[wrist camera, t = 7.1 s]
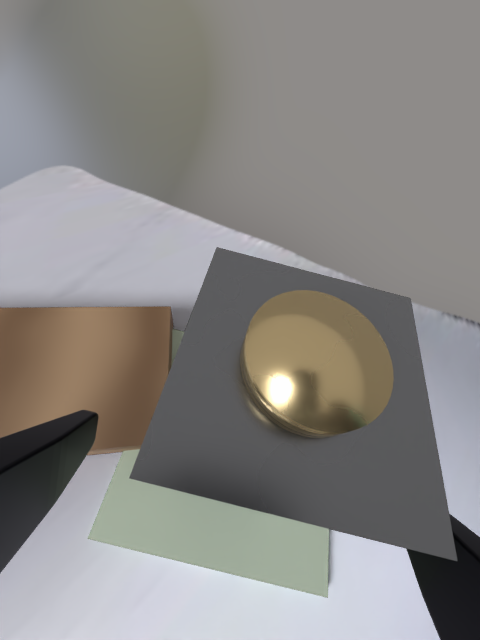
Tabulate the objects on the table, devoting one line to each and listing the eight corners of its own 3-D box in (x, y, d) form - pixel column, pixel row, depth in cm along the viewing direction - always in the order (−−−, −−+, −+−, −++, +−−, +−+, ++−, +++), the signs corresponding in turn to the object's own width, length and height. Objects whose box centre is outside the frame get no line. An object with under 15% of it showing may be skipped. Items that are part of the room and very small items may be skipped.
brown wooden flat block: (173, 324, 16) (170, 306, 15) (169, 446, 13) (165, 443, 11) (-97, 329, 14) (-138, 308, 12) (-193, 483, 10) (-269, 484, 9)
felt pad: (329, 371, 16) (332, 369, 16) (323, 593, 11) (327, 597, 10) (173, 332, 16) (172, 328, 16) (90, 537, 11) (87, 538, 10)
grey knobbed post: (283, 403, 14) (430, 281, 5) (272, 500, 12) (503, 575, 3) (204, 382, 14) (218, 225, 5) (177, 475, 12) (117, 478, 3)
